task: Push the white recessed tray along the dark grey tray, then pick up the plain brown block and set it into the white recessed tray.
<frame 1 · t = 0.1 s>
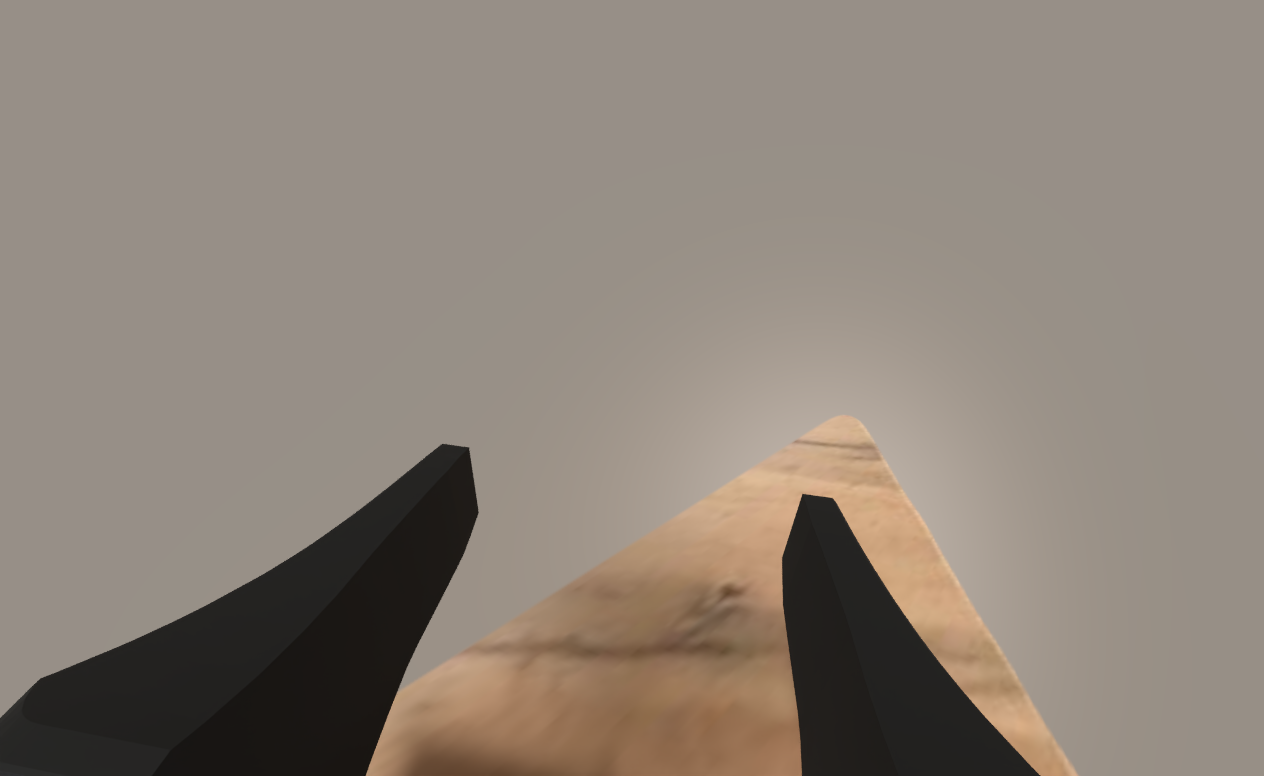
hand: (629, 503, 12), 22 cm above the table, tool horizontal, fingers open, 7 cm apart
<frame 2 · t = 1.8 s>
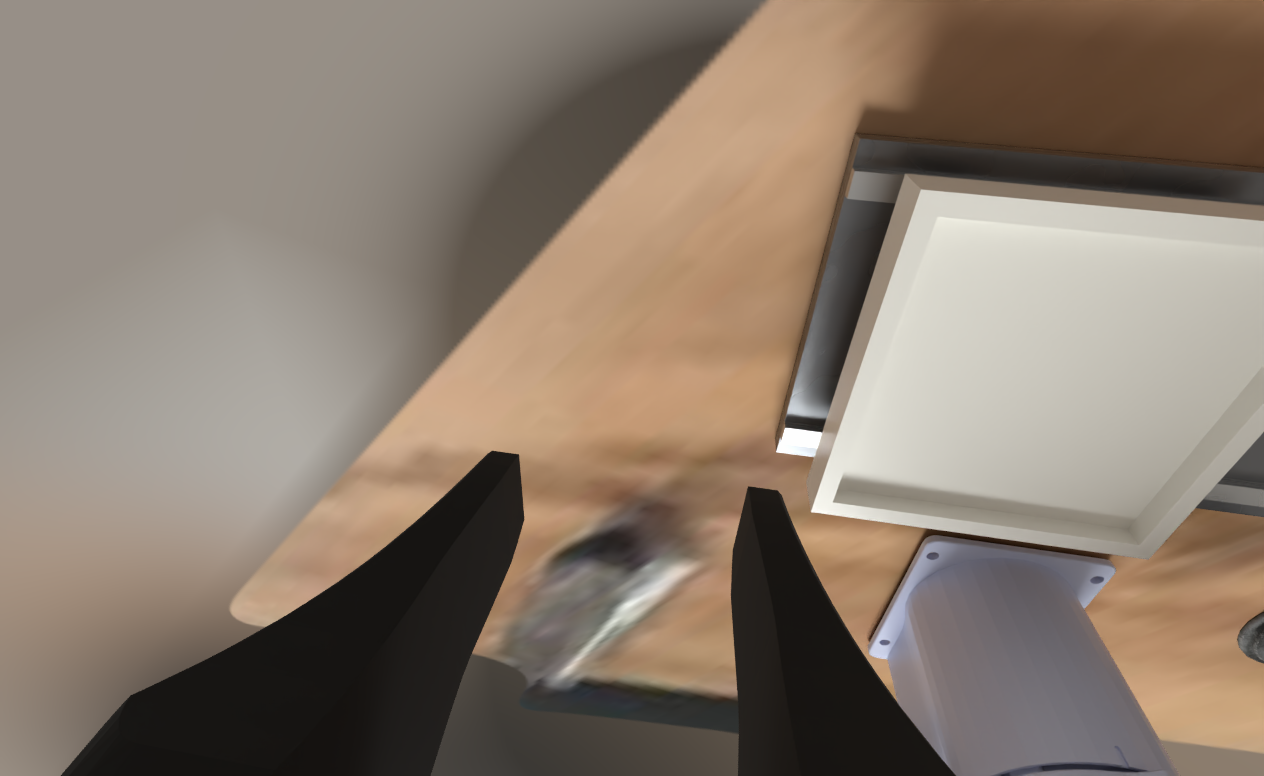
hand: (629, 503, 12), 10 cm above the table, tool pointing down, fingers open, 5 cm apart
dark grey tray: (1172, 353, 19), on the table
white recessed tray: (1032, 379, 17), point 3 cm above the table, slide at 0.0 cm
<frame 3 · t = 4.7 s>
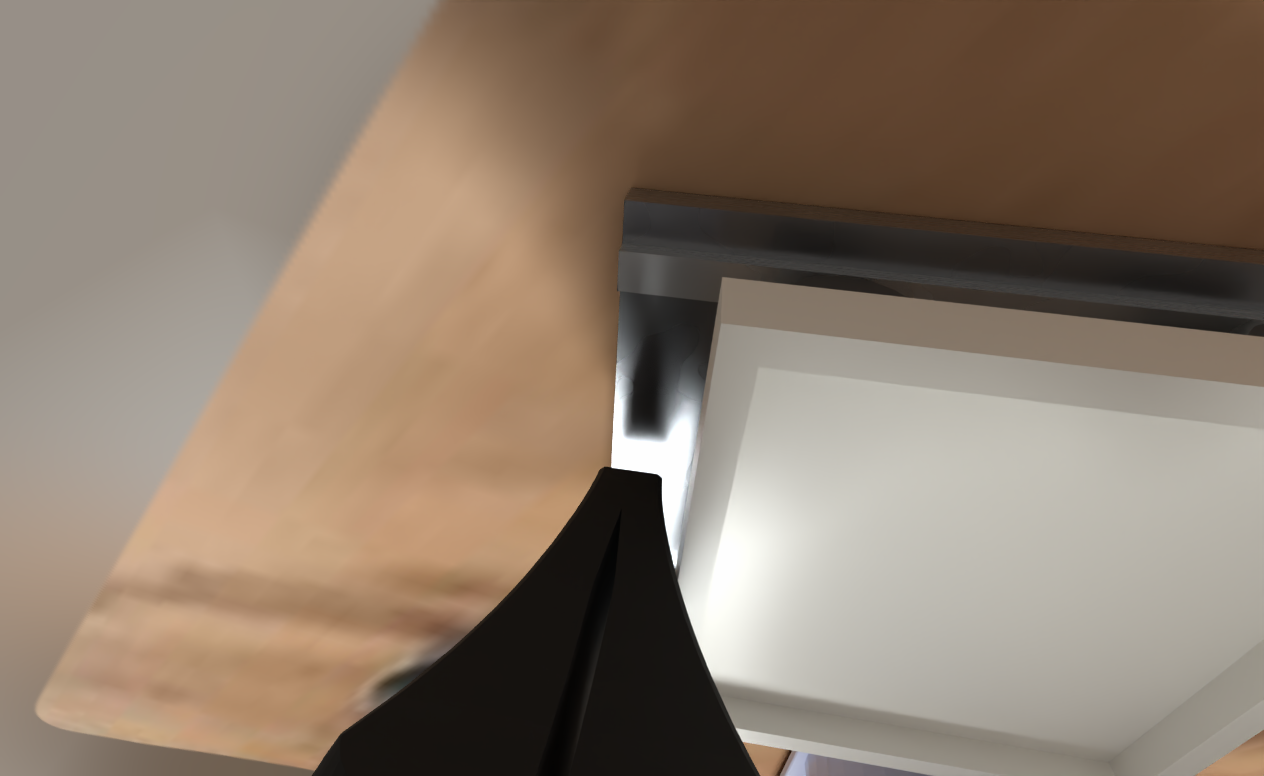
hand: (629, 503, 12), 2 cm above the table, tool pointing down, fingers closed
dark grey tray: (1132, 499, 13), on the table
white recessed tray: (960, 570, 11), point 3 cm above the table, slide at 1.0 cm, touching gripper
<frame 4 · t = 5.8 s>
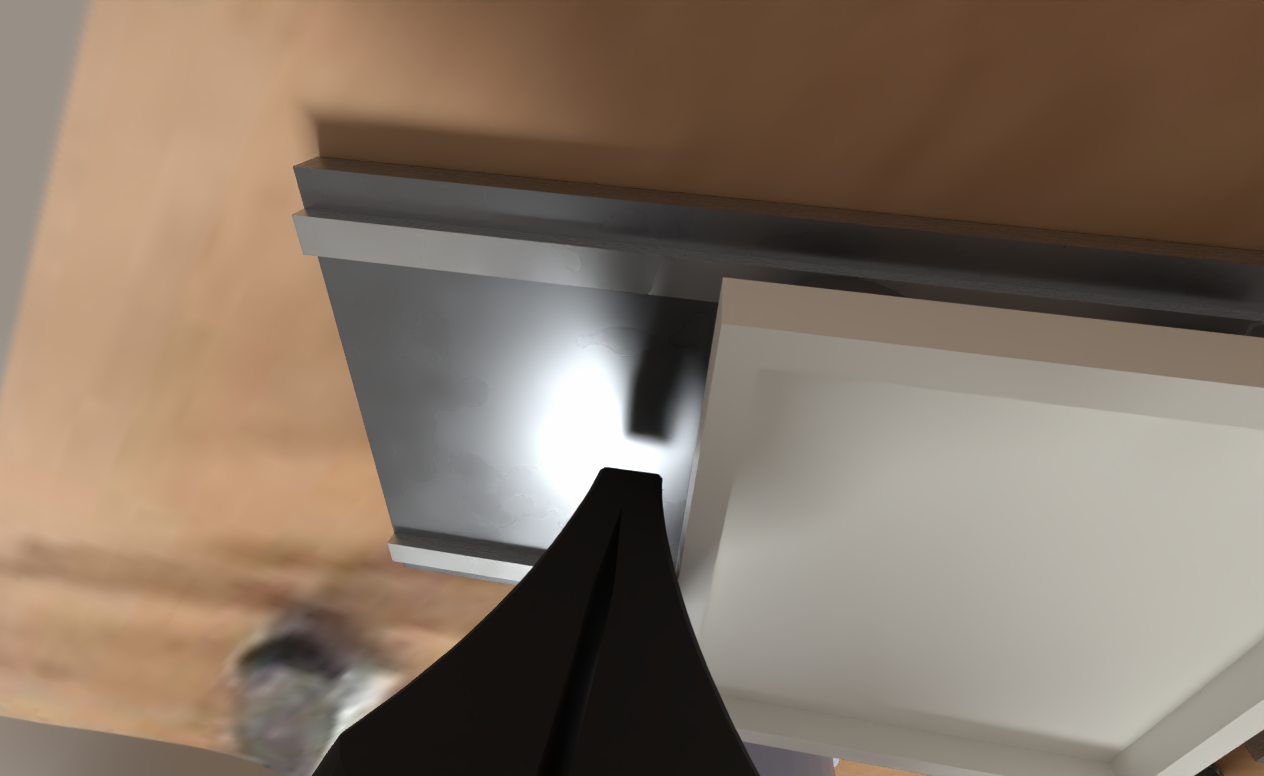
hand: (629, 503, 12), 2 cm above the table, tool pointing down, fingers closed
dark grey tray: (854, 462, 14), on the table
white recessed tray: (960, 570, 11), point 3 cm above the table, slide at 7.3 cm, touching gripper
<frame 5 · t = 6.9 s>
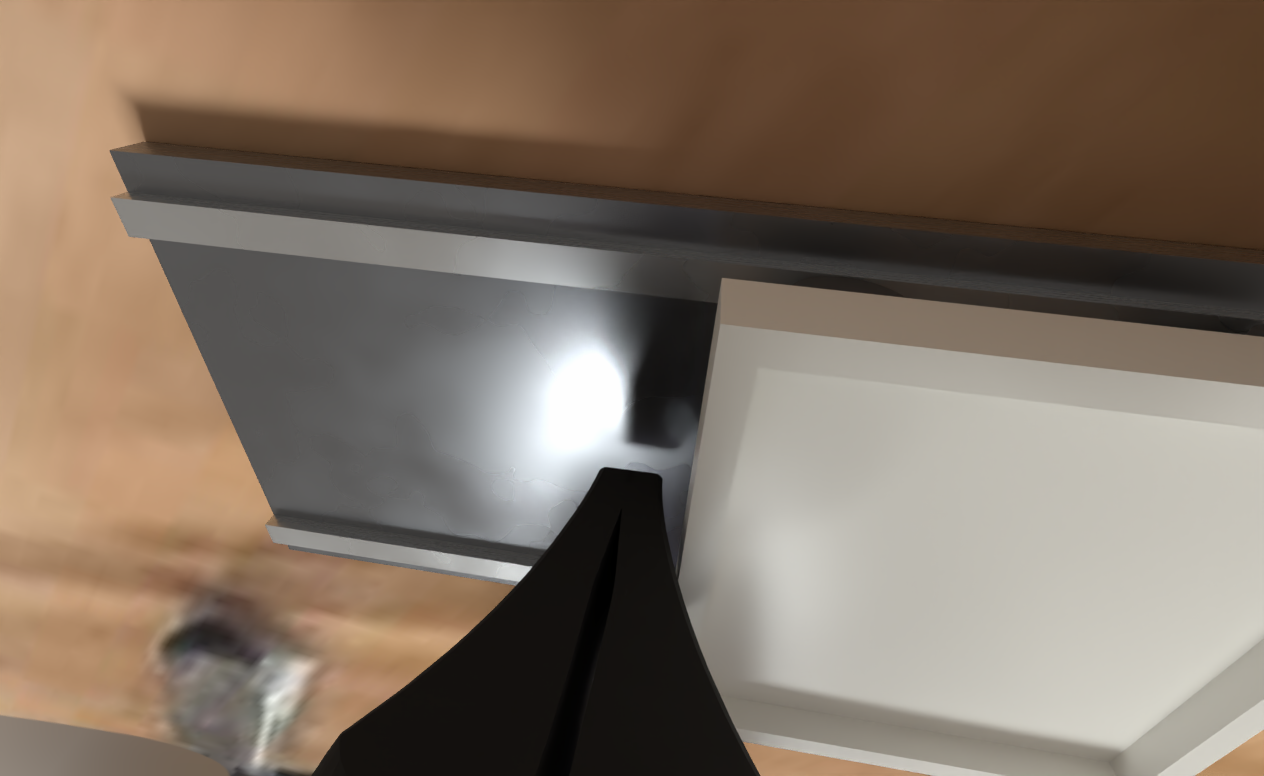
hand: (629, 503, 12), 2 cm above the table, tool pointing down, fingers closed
dark grey tray: (697, 441, 14), on the table
white recessed tray: (960, 569, 11), point 3 cm above the table, slide at 11.2 cm, touching gripper
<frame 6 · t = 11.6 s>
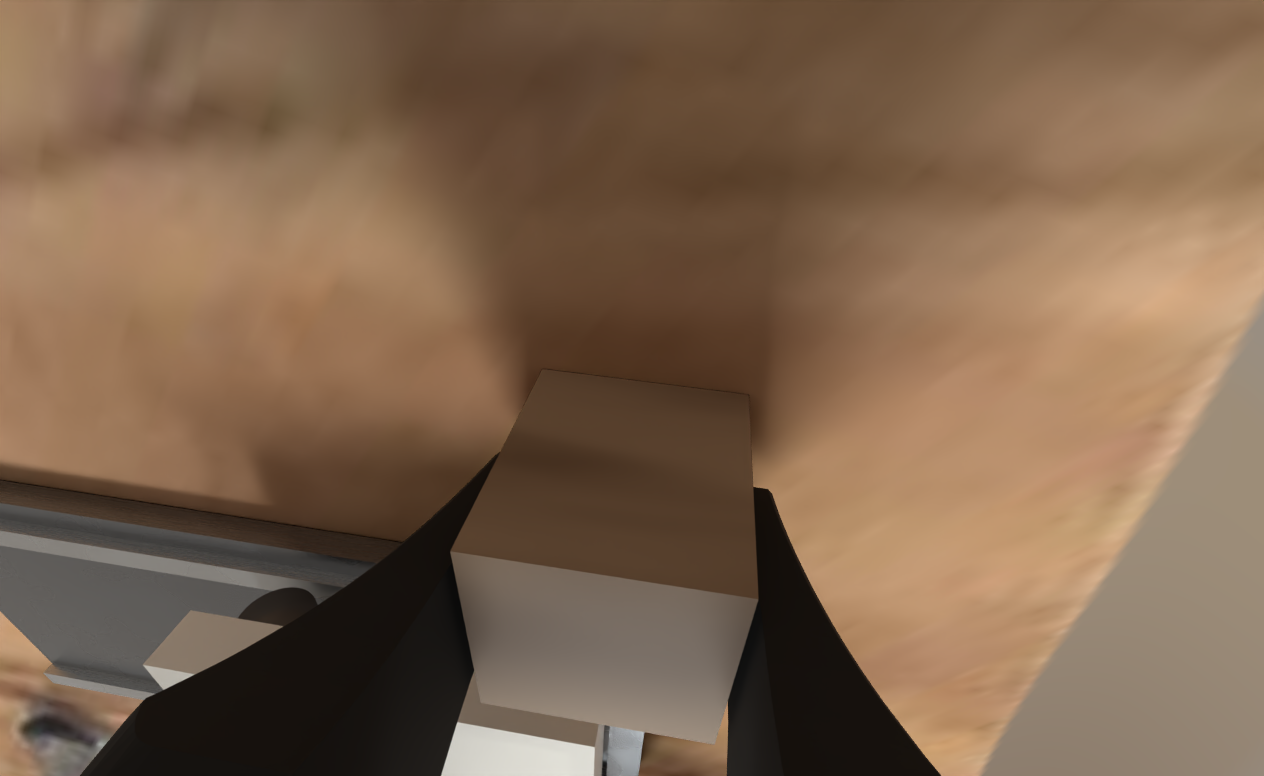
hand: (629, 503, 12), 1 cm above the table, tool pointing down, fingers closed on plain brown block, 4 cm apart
dark grey tray: (313, 633, 20), on the table
plain brown block: (637, 459, 13), on the table, touching gripper
white recessed tray: (424, 747, 18), point 3 cm above the table, slide at 11.3 cm
when the fingers open (6 cm above the table, at t = 14.9 s): plain brown block stays where it is, resting on white recessed tray.
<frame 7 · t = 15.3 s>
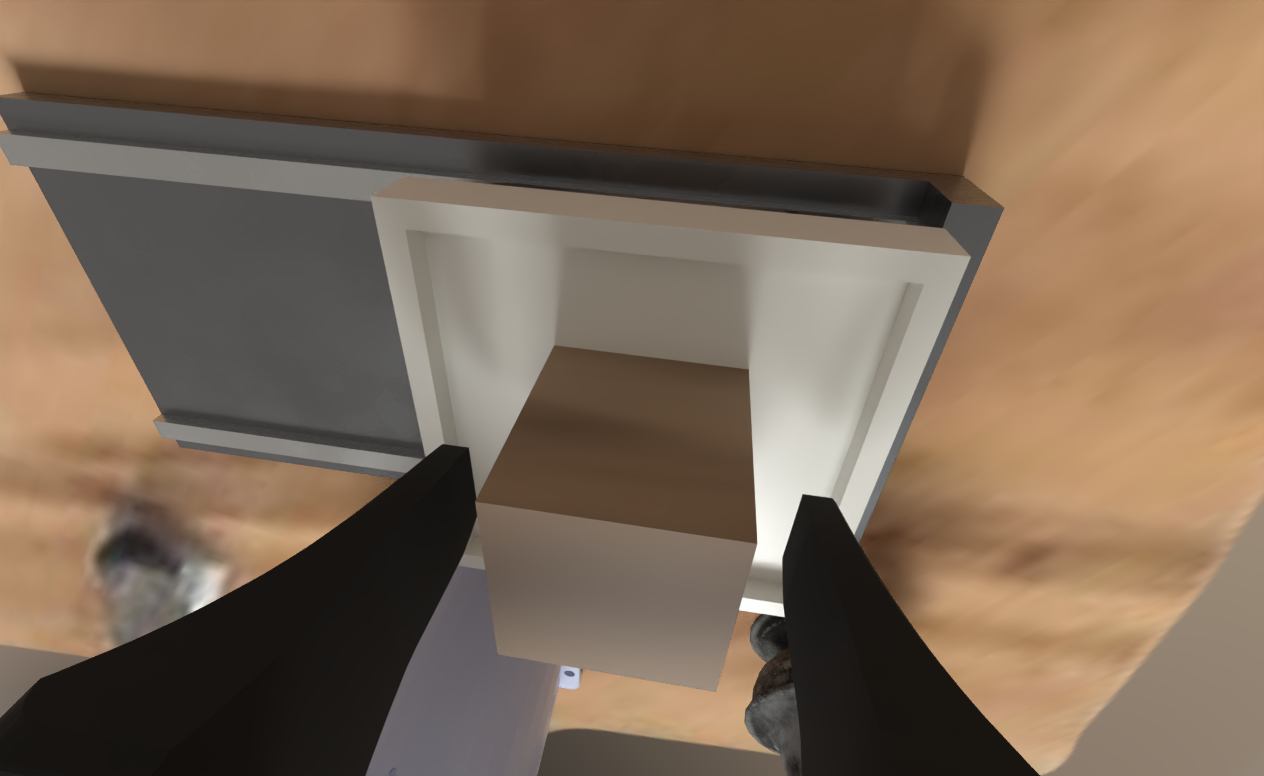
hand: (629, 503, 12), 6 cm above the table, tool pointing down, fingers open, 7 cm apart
dark grey tray: (481, 337, 18), on the table
plain brown block: (643, 432, 14), point 4 cm above the table, touching white recessed tray
white recessed tray: (645, 416, 15), point 3 cm above the table, slide at 11.3 cm, touching plain brown block
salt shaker: (812, 634, 24), on the table
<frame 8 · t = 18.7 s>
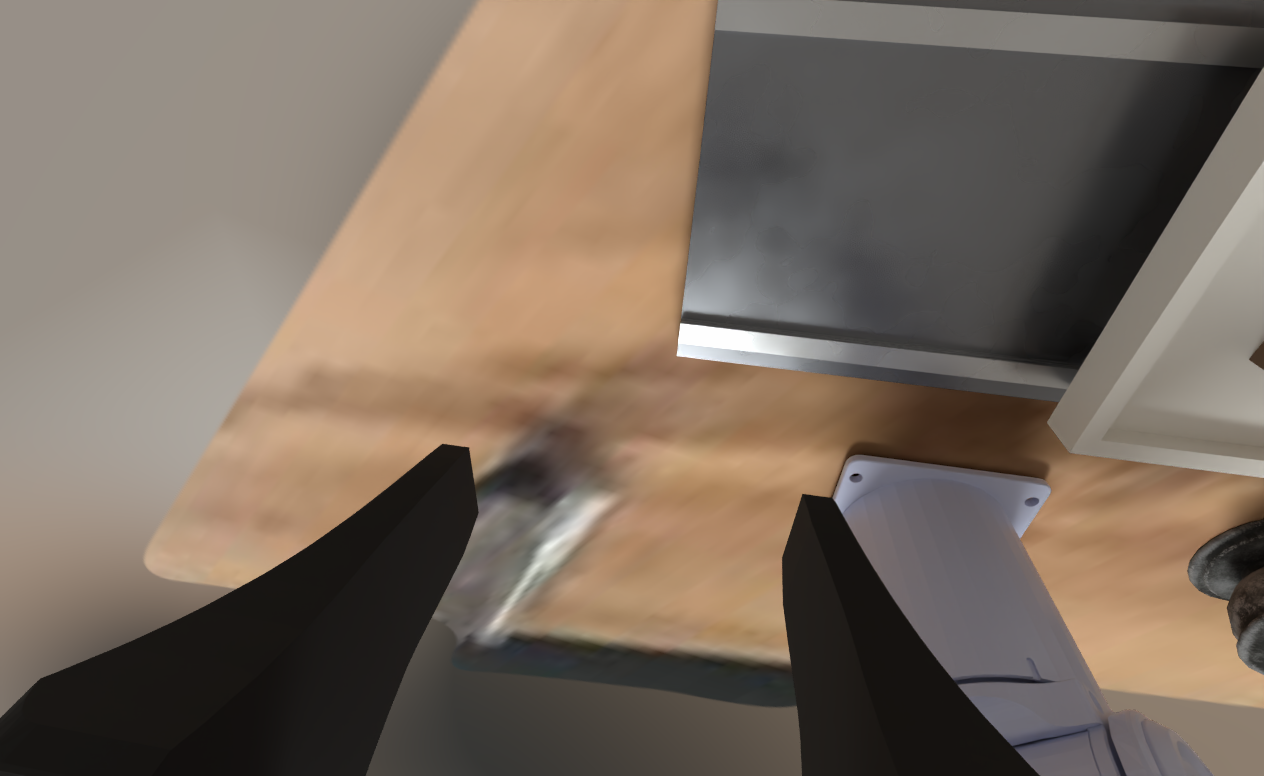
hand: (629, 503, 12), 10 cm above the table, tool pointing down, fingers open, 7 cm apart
dark grey tray: (1094, 224, 17), on the table
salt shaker: (1261, 556, 24), on the table
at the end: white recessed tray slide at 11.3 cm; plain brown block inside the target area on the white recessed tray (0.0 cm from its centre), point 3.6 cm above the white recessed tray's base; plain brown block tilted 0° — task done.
